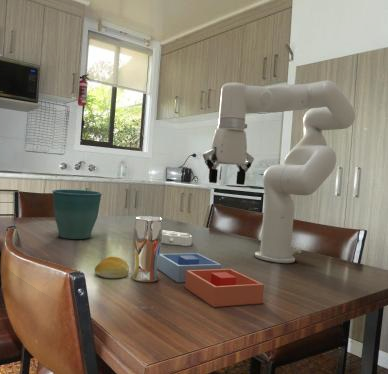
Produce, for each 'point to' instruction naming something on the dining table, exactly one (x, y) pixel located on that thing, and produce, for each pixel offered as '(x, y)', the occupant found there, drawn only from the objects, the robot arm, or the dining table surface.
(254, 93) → the robot arm
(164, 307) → the dining table surface
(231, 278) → the red block
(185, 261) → the blue block
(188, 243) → the white brass knuckles
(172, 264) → the blue bin
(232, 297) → the terracotta bin
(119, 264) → the bread roll
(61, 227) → the flower pot
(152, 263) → the beer glass
